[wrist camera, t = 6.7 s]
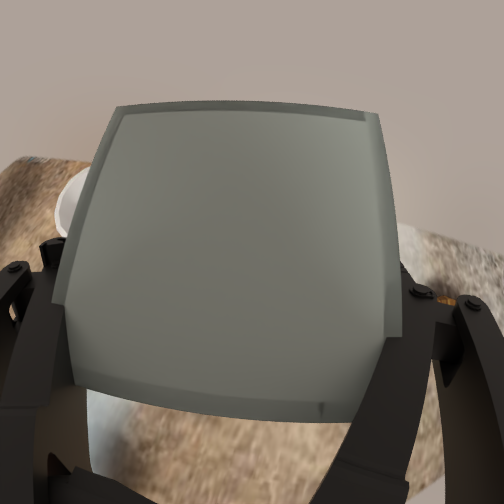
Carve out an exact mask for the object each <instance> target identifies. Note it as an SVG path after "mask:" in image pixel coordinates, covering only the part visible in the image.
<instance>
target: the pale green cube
mask: <svg viewBox="0 0 504 504" xmlns="http://www.w3.org/2000/svg"><path fill="white" fill-rule="evenodd" d="M51 303H55V304H60V305H64V308H65V319H66V328H67V337H68V345H69V352H70V358H71V365H72V371H73V376H74V382H75V385H77V386H80V387H83V388H87V389H90V390H93V391H97V392H100V393H104V394H108V395H111V396H115V397H119V398H123V399H127V400H131V401H136V402H140V403H145V404H149V405H154V406H159V407H164V408H169V409H175V410H180V411H186V412H192V413H199V414H206V415H213V416H221V417H229V418H238V419H248V420H260V421H275V422H297V423H351V422H353V419H354V417H355V415H356V413H357V411H358V408H359V406H360V404H361V402H362V399H363V397H364V395H365V392H366V390H367V387H368V385H369V383H370V380H371V378H372V375H373V373H374V370H375V367H376V365H377V362H378V359H379V357H380V354H381V351H382V349H383V346H384V343H385V340H386V337H402V291H401V270H400V255H399V243H398V232H397V223H396V214H395V206H394V199H393V191H392V185H391V178H390V172H389V166H388V160H387V154H386V149H385V144H384V139H383V134H382V130H381V125H380V120H379V116H378V114H376V113H370V112H364V111H357V110H351V109H343V108H335V107H327V106H318V105H307V104H296V103H282V102H262V101H184V102H183V101H182V102H165V103H150V104H138V105H128V106H120V107H116V109H115V112H114V114H113V116H112V118H111V120H110V122H109V124H108V126H107V129H106V131H105V133H104V135H103V137H102V140H101V142H100V145H99V147H98V149H97V152H96V154H95V157H94V159H93V162H92V164H91V167H90V169H89V172H88V174H87V177H86V180H85V183H84V185H83V188H82V191H81V194H80V197H79V200H78V203H77V206H76V209H75V212H74V215H73V218H72V221H71V225H70V228H69V231H68V235H67V238H66V242H65V246H64V249H63V253H62V257H61V261H60V265H59V269H58V273H57V278H56V282H55V287H54V292H53V296H52V302H51Z"/></svg>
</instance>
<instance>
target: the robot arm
mask: <svg viewBox="0 0 504 504" xmlns="http://www.w3.org/2000/svg"><path fill="white" fill-rule="evenodd" d="M66 238H67V237H57V238H53V239H50V240H47V241H45V242H43V243H42V244H41V245H40V246H39V248H40V252H41V257H42V261H43V265H44V267H43V270H42V272H31V270H30V266H29V263H28V262H26V261H15V262H12V263H10V264H9V265H7V266H6V267H5V268H3V269H2V270H1V271H0V504H157V503H155V502H153V501H151V500H149V499H147V498H145V497H144V496H142V495H140V494H138V493H136V492H134V491H133V490H131V489H129V488H127V487H126V486H124V485H122V484H121V483H119V482H117V481H115V480H112V479H109V478H106V477H103V476H101V475H98V474H95V473H93V471H92V468H91V464H90V455H89V443H88V426H87V388H83V387H80V386H77V385H75V382H74V376H73V371H72V365H71V358H70V352H69V345H68V337H67V328H66V319H65V308H64V305H60V304H55V303H51V302H52V296H53V292H54V287H55V282H56V278H57V273H58V269H59V265H60V261H61V257H62V253H63V249H64V246H65V242H66ZM400 270H401V291H402V337H386V340H385V343H384V346H383V349H382V351H381V354H380V357H379V359H378V362H377V365H376V367H375V370H374V373H373V375H372V378H371V380H370V383H369V385H368V387H367V390H366V392H365V395H364V397H363V399H362V402H361V404H360V406H359V408H358V411H357V413H356V415H355V417H354V419H353V422H352V423H351V425H350V427H349V430H348V432H347V434H346V436H345V438H344V440H343V442H342V444H341V446H340V448H339V450H338V452H337V454H336V456H335V458H334V460H333V462H332V463H331V465H330V467H329V469H328V471H327V473H326V474H325V476H324V478H323V480H322V482H321V483H320V485H319V487H318V489H317V490H316V492H315V494H314V495H313V497H312V499H311V500H310V502H309V504H405V502H406V499H407V495H408V491H409V482H407V481H406V480H405V474H406V470H407V467H408V464H409V461H410V457H411V454H412V450H413V446H414V443H415V439H416V435H417V431H418V427H419V423H420V418H421V414H422V409H423V404H424V400H425V394H426V389H427V383H428V377H429V371H430V365H431V359H432V362H433V368H434V374H435V380H436V386H437V393H438V400H439V407H440V415H441V424H442V434H443V447H444V462H445V504H504V337H503V335H502V333H501V331H500V329H499V327H498V325H497V323H496V321H495V319H494V317H493V315H492V313H491V311H490V309H489V308H488V306H487V305H486V304H485V303H484V302H483V301H482V300H481V299H480V298H478V297H477V298H476V296H471V295H461V296H459V297H458V298H457V301H456V303H455V306H453V305H449V304H444V303H440V302H437V295H436V293H435V292H434V291H433V290H431V289H430V288H428V287H426V286H424V285H421V284H416V283H415V281H414V280H413V278H412V277H411V275H410V274H409V273H408V271H407V270H406V268H404V265H403V264H402V263H401V261H400ZM10 305H12V308H13V310H14V313H15V316H16V317H15V319H14V320H12V318H11V316H10V313H9V308H10Z"/></svg>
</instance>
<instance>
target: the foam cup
mask: <svg viewBox="0 0 504 504" xmlns="http://www.w3.org/2000/svg"><path fill="white" fill-rule="evenodd" d="M90 167H91V166H90ZM90 167H88V168H85V169H83V170H82V171H81V172H79V173H78V174H77V175H76V176H74V177H73V178H72V179H71V180H69V182H68V183H67V185H66V186H65V188H64V189H63V191H62V192H61V194H60V195H59V198H58V201H57V205H56V209H55V213H54V215H55V222H56V228H57V231H58V232H59V233H60V234H61V236H62V237H67V235H68V231H69V228H70V225H71V221H72V218H73V215H74V212H75V209H76V206H77V203H78V200H79V197H80V194H81V191H82V188H83V185H84V183H85V180H86V177H87V174H88V172H89V169H90Z"/></svg>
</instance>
